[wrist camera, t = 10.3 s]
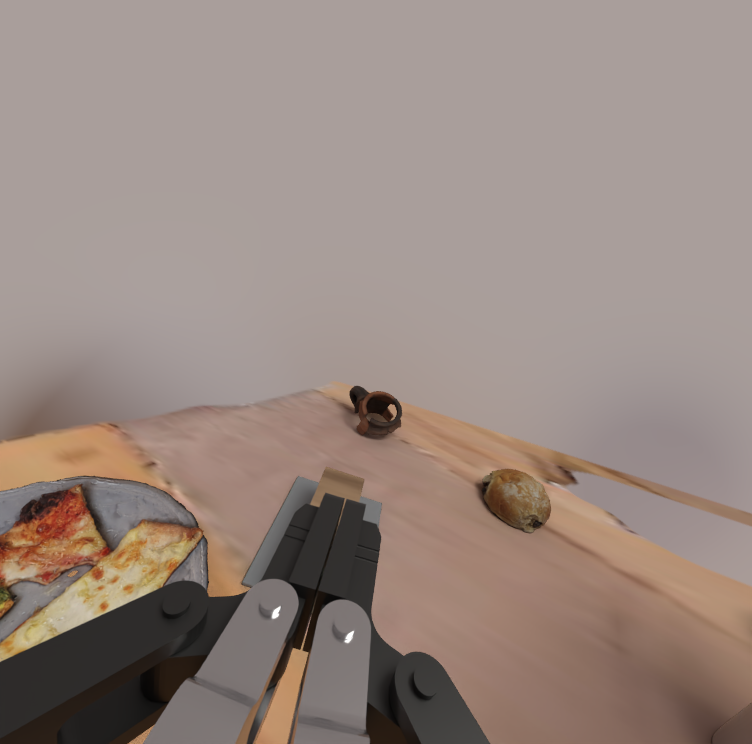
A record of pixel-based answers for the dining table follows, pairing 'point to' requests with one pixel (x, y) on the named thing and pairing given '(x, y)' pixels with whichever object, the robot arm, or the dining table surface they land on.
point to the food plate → (88, 553)
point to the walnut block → (338, 487)
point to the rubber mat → (294, 501)
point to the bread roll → (517, 499)
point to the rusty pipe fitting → (375, 411)
